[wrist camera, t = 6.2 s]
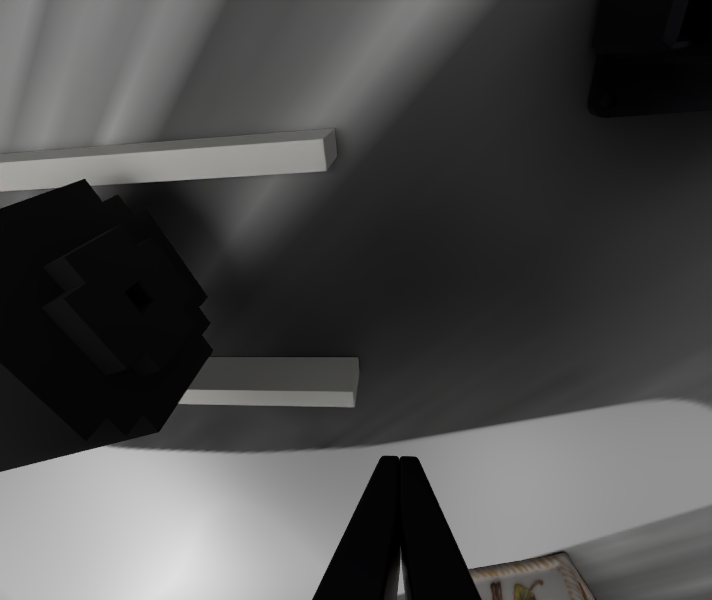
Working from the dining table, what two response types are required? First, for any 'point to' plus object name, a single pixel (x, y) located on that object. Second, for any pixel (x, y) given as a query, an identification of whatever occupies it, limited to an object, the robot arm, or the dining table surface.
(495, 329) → the dining table surface
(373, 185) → the dining table surface
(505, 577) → the decorative jar
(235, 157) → the tester cradle
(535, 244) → the dining table surface
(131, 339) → the security camera
